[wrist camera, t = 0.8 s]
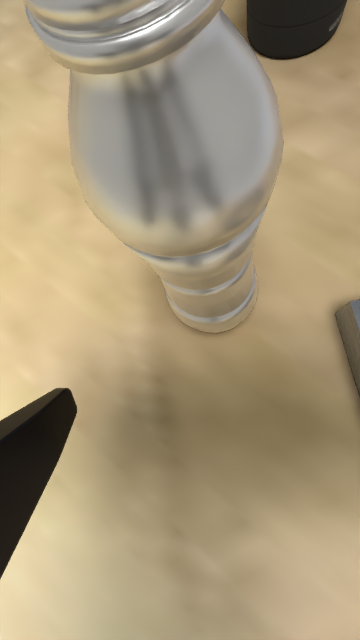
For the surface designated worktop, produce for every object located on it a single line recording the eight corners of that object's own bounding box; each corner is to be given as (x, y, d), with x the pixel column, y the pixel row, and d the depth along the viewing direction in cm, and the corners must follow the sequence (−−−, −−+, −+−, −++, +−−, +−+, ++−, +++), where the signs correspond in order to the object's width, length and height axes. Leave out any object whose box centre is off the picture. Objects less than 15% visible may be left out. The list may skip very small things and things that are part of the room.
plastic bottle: (217, 246, 24) (124, -343, 5) (274, 302, 22) (529, -363, 3) (158, 295, 24) (-169, -95, 5) (210, 356, 22) (-15, 92, 3)
